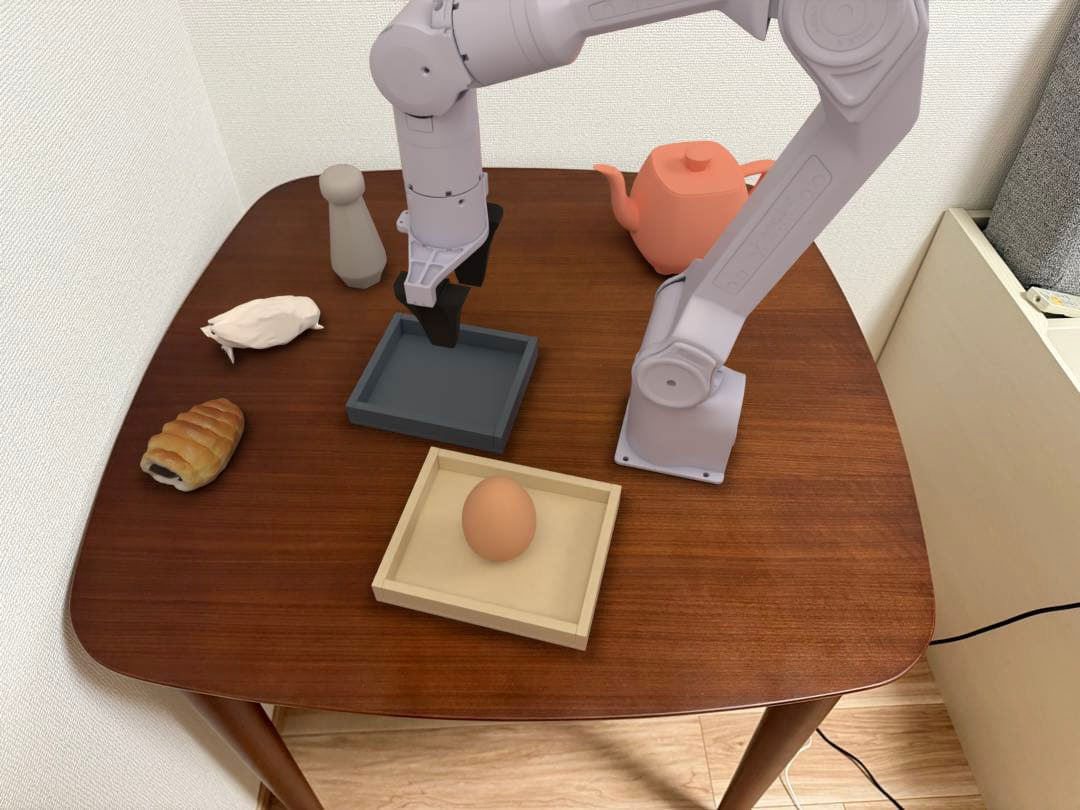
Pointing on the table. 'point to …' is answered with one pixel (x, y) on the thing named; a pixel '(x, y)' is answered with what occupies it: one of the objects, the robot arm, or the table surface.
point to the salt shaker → (351, 228)
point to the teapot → (681, 200)
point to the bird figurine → (263, 323)
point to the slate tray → (445, 385)
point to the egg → (499, 519)
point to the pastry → (195, 445)
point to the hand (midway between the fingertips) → (458, 312)
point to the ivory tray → (511, 586)
